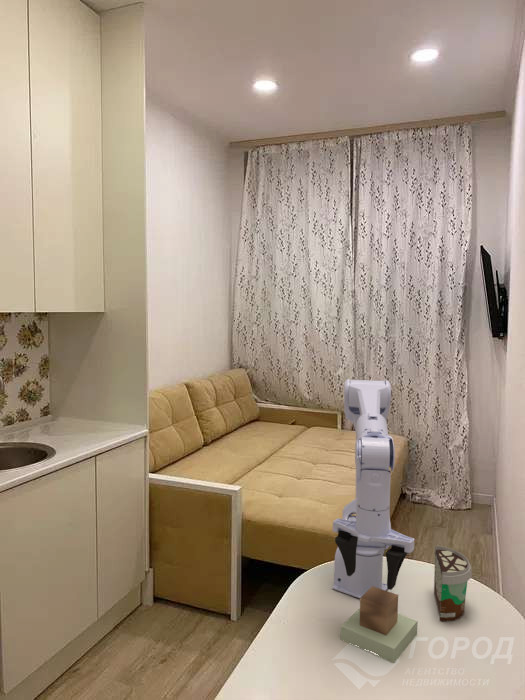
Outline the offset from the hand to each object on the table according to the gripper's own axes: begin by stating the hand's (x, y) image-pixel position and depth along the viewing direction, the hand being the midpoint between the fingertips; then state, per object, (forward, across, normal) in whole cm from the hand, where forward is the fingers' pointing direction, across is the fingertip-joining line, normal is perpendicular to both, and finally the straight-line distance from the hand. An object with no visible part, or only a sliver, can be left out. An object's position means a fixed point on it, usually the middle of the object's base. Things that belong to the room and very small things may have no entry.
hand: (370, 580), depth 94 cm
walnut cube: (+8, +1, +1) cm, 8 cm away
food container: (+11, +10, +18) cm, 23 cm away
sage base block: (+11, +2, +1) cm, 11 cm away
